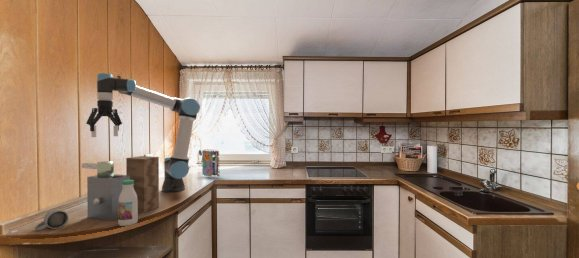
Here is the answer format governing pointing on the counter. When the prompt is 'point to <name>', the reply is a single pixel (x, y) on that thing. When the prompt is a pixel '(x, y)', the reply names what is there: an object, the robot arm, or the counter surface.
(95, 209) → the box
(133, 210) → the milk bottle
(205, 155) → the box
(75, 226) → the counter surface
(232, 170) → the counter surface
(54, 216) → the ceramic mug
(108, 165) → the spout can
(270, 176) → the counter surface
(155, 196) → the walnut stand
